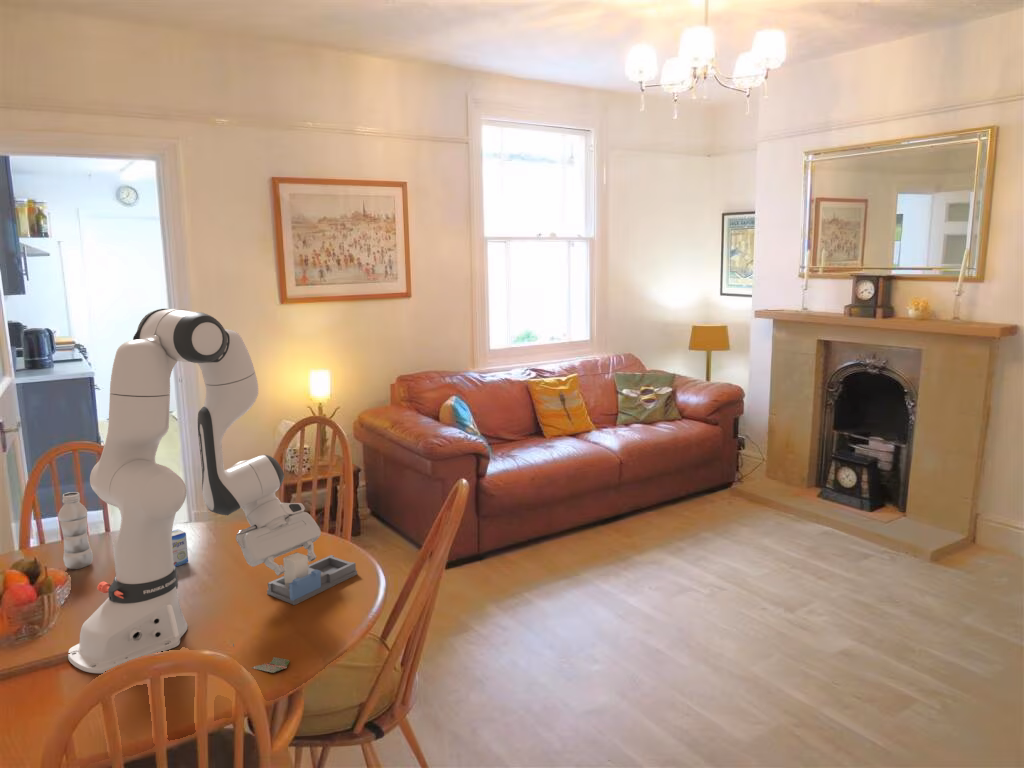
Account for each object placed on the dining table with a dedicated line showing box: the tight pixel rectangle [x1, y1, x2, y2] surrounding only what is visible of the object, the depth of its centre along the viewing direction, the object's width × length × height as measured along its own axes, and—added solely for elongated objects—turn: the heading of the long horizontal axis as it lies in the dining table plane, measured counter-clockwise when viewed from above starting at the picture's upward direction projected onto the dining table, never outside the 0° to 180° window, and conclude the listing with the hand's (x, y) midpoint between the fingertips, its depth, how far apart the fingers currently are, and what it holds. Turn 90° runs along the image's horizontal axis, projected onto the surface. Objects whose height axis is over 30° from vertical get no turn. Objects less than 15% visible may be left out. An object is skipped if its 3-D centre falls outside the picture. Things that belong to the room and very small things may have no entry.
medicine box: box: [172, 529, 189, 568], centre depth 187 cm, size 8×4×9 cm, turn 143°
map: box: [232, 643, 291, 673], centre depth 145 cm, size 5×20×1 cm, turn 64°
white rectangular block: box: [283, 552, 309, 587], centre depth 172 cm, size 4×4×8 cm
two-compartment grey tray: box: [266, 554, 358, 606], centre depth 177 cm, size 20×11×6 cm, turn 146°
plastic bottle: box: [57, 491, 94, 570], centre depth 185 cm, size 6×7×20 cm
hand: (297, 566), depth 172 cm, fingers open, 8 cm apart
